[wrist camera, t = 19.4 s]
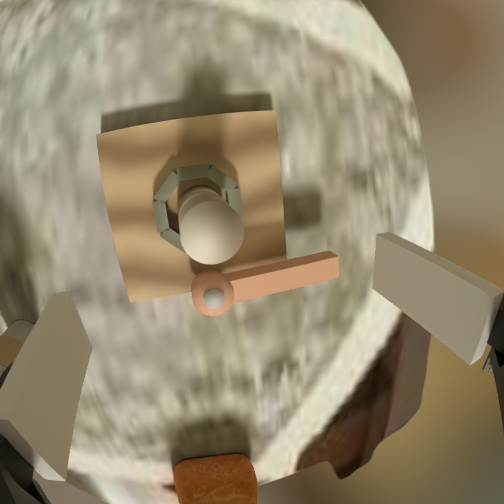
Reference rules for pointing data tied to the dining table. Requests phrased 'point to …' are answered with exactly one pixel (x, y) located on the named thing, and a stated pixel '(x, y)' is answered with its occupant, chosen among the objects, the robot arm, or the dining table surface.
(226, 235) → the leg peg
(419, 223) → the dining table surface
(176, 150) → the stool seat
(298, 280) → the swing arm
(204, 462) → the bread
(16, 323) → the coffee cup
